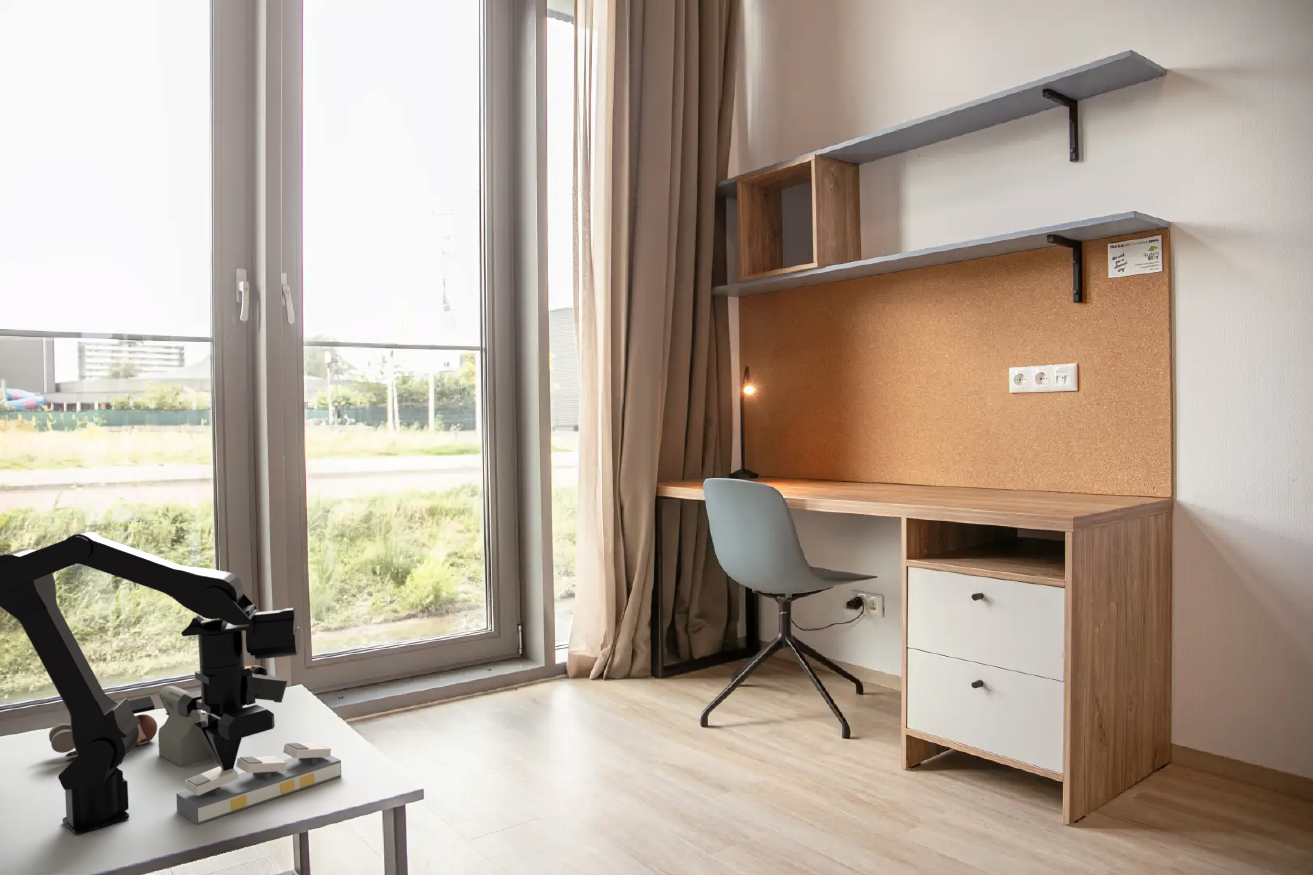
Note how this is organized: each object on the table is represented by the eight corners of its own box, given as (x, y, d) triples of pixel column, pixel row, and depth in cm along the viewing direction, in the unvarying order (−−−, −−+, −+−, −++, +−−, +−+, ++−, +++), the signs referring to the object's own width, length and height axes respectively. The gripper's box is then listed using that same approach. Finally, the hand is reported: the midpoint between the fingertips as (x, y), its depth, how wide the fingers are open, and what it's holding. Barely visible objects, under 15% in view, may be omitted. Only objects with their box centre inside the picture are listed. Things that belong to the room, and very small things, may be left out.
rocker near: (197, 795, 124) (196, 786, 124) (186, 788, 126) (185, 778, 126) (238, 778, 128) (236, 769, 128) (226, 771, 130) (224, 762, 130)
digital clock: (235, 761, 145) (233, 695, 145) (173, 776, 140) (170, 708, 140) (212, 735, 158) (209, 675, 158) (153, 748, 153) (151, 685, 152)
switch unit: (198, 825, 122) (197, 800, 122) (177, 810, 127) (176, 786, 127) (342, 776, 137) (342, 754, 137) (318, 765, 142) (318, 743, 142)
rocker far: (295, 758, 134) (297, 748, 134) (283, 752, 137) (284, 742, 137) (329, 756, 138) (331, 747, 138) (316, 750, 141) (318, 741, 141)
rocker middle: (248, 772, 129) (250, 763, 129) (236, 766, 131) (238, 756, 132) (284, 770, 133) (286, 761, 133) (272, 764, 135) (274, 754, 136)
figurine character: (56, 776, 145) (162, 743, 154) (48, 730, 144) (154, 700, 153) (54, 764, 150) (156, 733, 159) (45, 720, 150) (149, 691, 159)
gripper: (308, 659, 128) (313, 768, 128) (250, 640, 140) (255, 740, 141) (227, 679, 120) (233, 795, 120) (174, 657, 132) (179, 762, 133)
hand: (228, 771), depth 129 cm, fingers closed, pressing on rocker near
